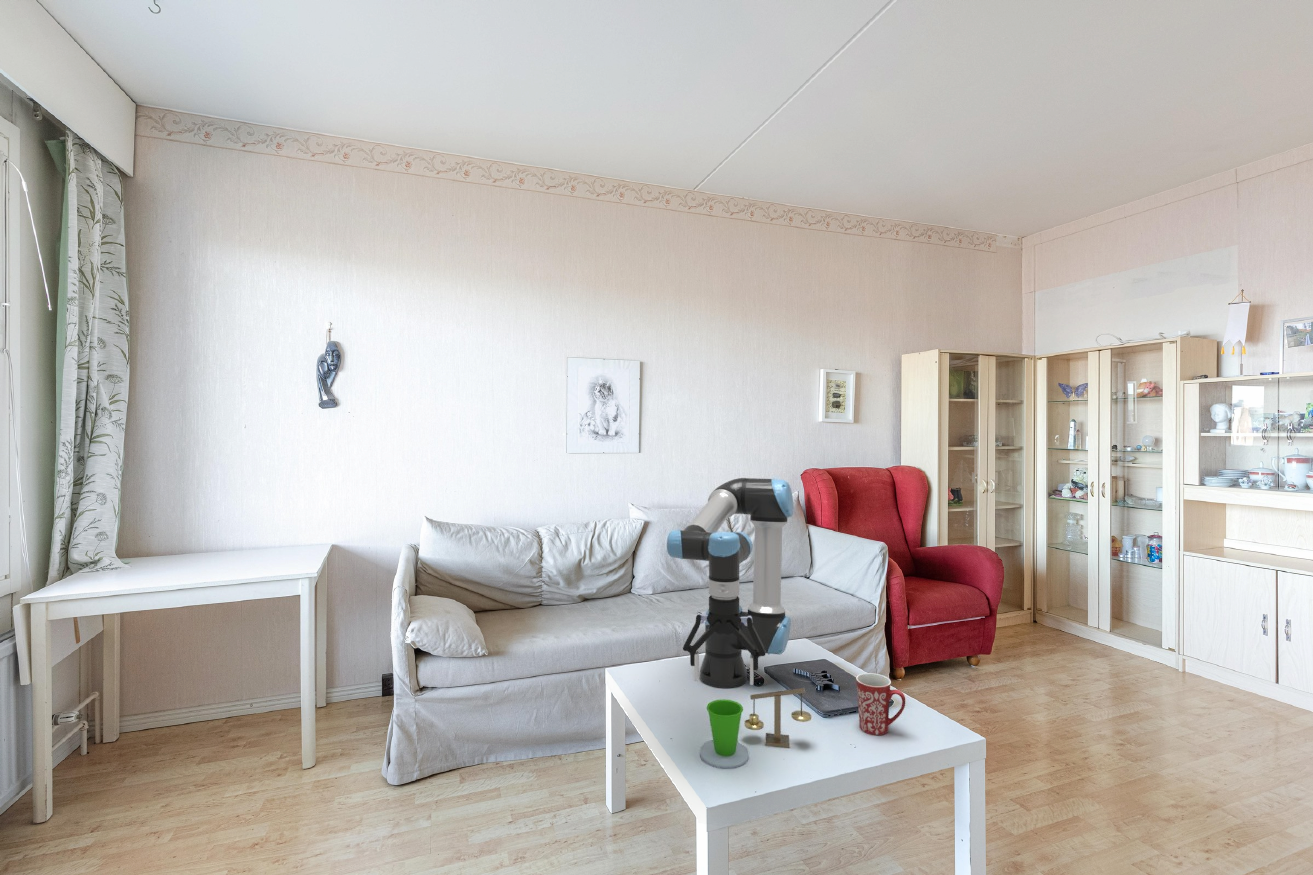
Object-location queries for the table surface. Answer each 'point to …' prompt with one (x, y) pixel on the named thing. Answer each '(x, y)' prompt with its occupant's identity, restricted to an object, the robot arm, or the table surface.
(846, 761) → the table surface
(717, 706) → the cup
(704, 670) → the robot arm
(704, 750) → the dish
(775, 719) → the balance
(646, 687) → the table surface
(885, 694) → the mug
